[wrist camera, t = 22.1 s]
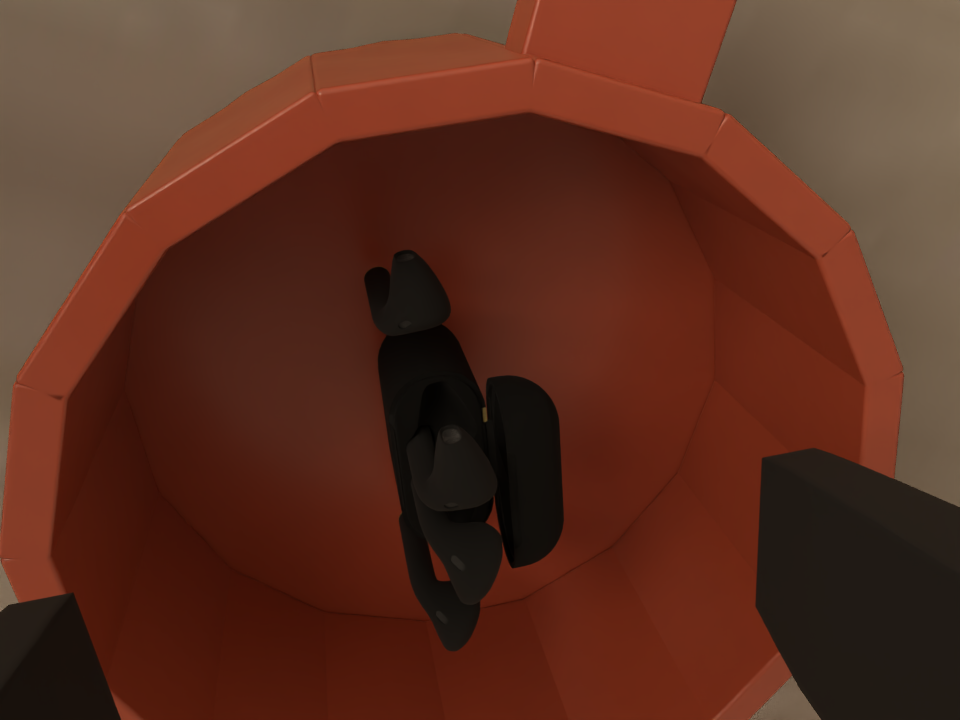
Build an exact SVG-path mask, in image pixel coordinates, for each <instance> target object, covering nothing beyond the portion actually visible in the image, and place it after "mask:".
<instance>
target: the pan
mask: <svg viewBox="0 0 960 720" xmlns="http://www.w3.org/2000/svg"><path fill="white" fill-rule="evenodd" d="M736 1H737V0H517V3H516V7H515V11H514V15H513V19H512V22H511V26H510V30H509V34H508V38H507V41H506V45H503V44H499V43H496V42H493V41H489V40H486V39H482V38H479V37H475V36H472V35H468V34H458V33H452V34H445V35H439V36H432V37H425V38H418V39H406V40H392V41H382V42H377V43H372V44H368V45H363V46H359V47H354V48H349V49H342V50H335V51H328V52H321V53H315V54H313V55H311V56H306V57H304V58H303V59H301V60H300V61H298V62H296V63H295V64H293V65H292V66H290V67H289V68H287V69H285V70H284V71H282V72H281V73H279V74H278V75H276V76H274V77H273V78H271V79H269V80H267V81H265V82H264V83H262V84H260V85H258V86H256V87H254V88H252V89H251V90H249V91H247V92H245V93H244V94H243V95H241V96H240V97H239V98H237V99H236V100H235V101H233V102H232V103H231V104H229V105H228V106H226V107H225V108H224V109H222V110H221V111H219V112H218V113H216V114H214V115H213V116H211V117H210V118H208V119H207V120H205V121H203V122H202V123H200V124H199V125H197V126H196V127H194V128H192V129H191V130H189V131H188V132H186V133H184V134H183V135H182V137H181V138H180V139H178V140H177V142H176V143H175V144H174V146H173V147H172V148H171V149H170V151H169V152H168V153H167V155H166V156H165V157H164V158H163V160H162V161H161V162H160V164H159V165H158V166H157V168H156V169H155V170H154V171H153V173H152V174H151V175H150V177H149V178H148V179H147V180H146V182H145V183H144V184H143V186H142V187H141V188H140V189H139V191H138V192H137V193H136V195H135V196H134V197H133V198H132V200H131V201H130V202H129V204H128V205H127V206H126V207H125V209H124V210H123V211H122V213H121V214H120V215H119V217H118V219H117V220H116V222H115V223H114V225H113V226H112V228H111V230H110V231H109V233H108V234H107V236H106V237H105V239H104V240H103V242H102V244H101V245H100V247H99V248H98V250H97V251H96V253H95V255H94V256H93V258H92V259H91V261H90V262H89V264H88V265H87V267H86V269H85V270H84V272H83V273H82V275H81V276H80V278H79V279H78V281H77V283H76V284H75V286H74V287H73V289H72V290H71V292H70V294H69V295H68V297H67V298H66V300H65V301H64V303H63V304H62V306H61V308H60V309H59V311H58V312H57V314H56V315H55V317H54V319H53V320H52V322H51V323H50V325H49V326H48V328H47V329H46V331H45V333H44V334H43V336H42V337H41V339H40V340H39V342H38V344H37V345H36V347H35V348H34V350H33V351H32V353H31V354H30V356H29V358H28V359H27V361H26V362H25V364H24V365H23V367H22V369H21V370H20V372H19V373H18V375H17V379H16V382H15V383H14V385H13V392H12V404H11V415H10V427H9V439H8V451H7V463H6V475H5V486H4V498H3V510H2V522H1V534H0V558H1V563H2V565H3V568H4V570H5V572H6V574H7V577H8V579H9V581H10V583H11V586H12V588H13V590H14V592H15V595H16V597H17V599H18V602H19V603H21V602H26V601H31V600H37V599H42V598H47V597H52V596H57V595H62V594H67V593H72V592H73V593H74V595H75V598H76V601H77V603H78V606H79V609H80V611H81V614H82V617H83V619H84V622H85V625H86V627H87V630H88V633H89V635H90V638H91V641H92V643H93V646H94V649H95V651H96V654H97V657H98V659H99V662H100V665H101V667H102V670H103V673H104V675H105V678H106V681H107V683H108V686H109V689H110V691H111V694H112V697H113V699H114V702H115V705H116V707H117V710H118V713H119V715H120V718H121V720H749V719H750V718H751V717H752V716H753V715H754V714H755V713H756V712H757V711H758V710H759V709H760V708H761V707H762V706H763V705H764V704H765V703H766V702H767V701H768V700H769V699H770V698H771V697H772V696H773V695H774V694H775V693H776V692H777V691H778V690H779V689H780V688H781V686H782V685H783V684H784V683H785V682H786V681H787V680H788V679H789V678H790V677H791V676H792V674H791V672H790V670H789V669H788V667H787V665H786V663H785V661H784V660H783V658H782V656H781V654H780V653H779V651H778V649H777V647H776V645H775V643H774V641H773V639H772V637H771V635H770V633H769V632H768V630H767V628H766V626H765V624H764V622H763V620H762V618H761V616H760V614H759V612H758V610H757V608H756V607H755V601H756V578H757V555H758V532H759V509H760V487H761V464H762V458H763V457H768V456H773V455H778V454H784V453H789V452H794V451H799V450H804V449H809V448H817V449H820V450H823V451H826V452H828V453H831V454H834V455H837V456H839V457H842V458H845V459H847V460H850V461H852V462H855V463H857V464H860V465H862V466H864V467H867V468H869V469H871V470H874V471H876V472H879V473H881V474H883V475H886V476H888V477H890V478H893V479H894V476H895V465H896V455H897V445H898V434H899V424H900V413H901V403H902V393H903V382H904V374H903V372H902V371H903V366H902V363H901V361H900V358H899V355H898V352H897V350H896V347H895V344H894V341H893V338H892V336H891V333H890V330H889V327H888V325H887V322H886V319H885V316H884V313H883V311H882V308H881V305H880V302H879V300H878V297H877V294H876V291H875V288H874V286H873V283H872V280H871V277H870V275H869V272H868V269H867V266H866V263H865V261H864V258H863V255H862V252H861V249H860V247H859V244H858V241H857V238H856V236H855V233H854V231H853V230H851V227H850V225H849V223H847V222H846V221H845V220H844V219H843V218H842V217H841V216H840V215H839V214H838V213H837V212H836V211H834V210H833V209H832V208H831V207H830V206H829V205H828V204H827V203H826V202H825V201H824V200H823V199H821V198H820V197H819V196H818V195H817V194H816V193H815V192H814V191H813V190H812V189H811V188H810V187H808V186H807V185H806V184H805V183H804V182H803V181H802V180H801V179H800V178H799V177H798V176H797V175H795V174H794V173H793V172H792V171H791V170H790V169H789V168H788V167H787V166H786V165H785V164H783V163H782V162H781V161H780V160H779V159H778V158H777V157H776V156H775V155H774V154H773V153H772V152H770V151H769V150H768V149H767V148H766V147H765V146H764V145H763V144H762V143H761V142H760V141H759V140H757V139H756V138H755V137H754V136H753V135H752V134H751V133H750V132H749V131H748V130H747V129H746V128H744V127H743V126H742V125H741V124H740V123H739V122H738V121H737V120H736V119H735V118H734V117H733V116H731V115H730V114H727V113H724V112H723V111H722V110H721V109H718V108H715V107H712V106H708V105H705V104H702V103H701V102H702V99H703V96H704V93H705V90H706V88H707V85H708V82H709V79H710V76H711V73H712V70H713V67H714V64H715V62H716V59H717V56H718V53H719V50H720V47H721V44H722V41H723V39H724V36H725V33H726V30H727V27H728V24H729V21H730V18H731V16H732V13H733V10H734V7H735V4H736ZM402 250H412V251H414V252H416V253H417V254H418V255H419V256H420V257H421V258H422V259H423V260H424V261H425V262H426V263H427V264H428V265H429V267H430V268H431V269H432V271H433V272H434V273H435V275H436V276H437V278H438V279H439V281H440V283H441V284H442V286H443V288H444V290H445V292H446V294H447V296H448V298H449V301H450V305H451V313H450V316H449V318H448V319H447V320H446V321H445V322H444V323H442V325H444V326H445V327H447V328H448V329H449V330H450V331H451V332H452V333H453V334H454V335H455V337H456V338H457V340H458V341H459V343H460V346H461V348H462V350H463V352H464V355H465V357H466V359H467V361H468V364H469V366H470V368H471V370H472V373H473V375H474V377H475V379H476V382H477V384H478V386H479V388H480V391H481V393H482V395H483V398H484V400H485V405H486V382H487V379H488V378H490V377H496V376H505V375H512V376H519V377H523V378H526V379H528V380H530V381H532V382H534V383H536V384H537V385H539V386H540V387H541V388H542V389H543V390H545V391H546V393H547V394H548V395H549V396H550V398H551V399H552V401H553V403H554V405H555V407H556V409H557V413H558V416H559V425H560V445H561V466H562V487H563V508H564V524H563V530H562V533H561V536H560V538H559V540H558V542H557V544H556V546H555V547H554V548H553V550H552V551H551V552H550V553H549V554H548V555H547V556H546V557H544V558H543V559H541V560H540V561H538V562H536V563H533V564H531V565H527V566H523V567H518V568H511V566H510V564H509V562H508V560H507V557H506V554H505V550H504V547H503V556H502V561H501V565H500V569H499V572H498V574H497V577H496V579H495V581H494V583H493V585H492V587H491V589H490V591H489V592H488V593H487V595H486V596H485V597H484V598H483V599H482V600H480V614H479V618H478V622H477V624H476V627H475V629H474V632H473V634H472V636H471V638H470V639H469V641H468V642H467V643H466V644H465V645H464V646H463V647H462V648H461V649H459V650H457V651H448V650H447V649H445V647H444V646H443V644H442V642H441V640H440V638H439V636H438V634H437V632H436V630H435V628H434V625H433V623H432V621H431V619H430V617H429V616H428V614H427V613H426V611H425V610H424V609H423V607H422V606H421V604H420V603H419V601H418V599H417V598H416V596H415V594H414V591H413V589H412V586H411V583H410V579H409V575H408V569H407V564H406V558H405V553H404V548H403V542H402V537H401V531H400V526H399V515H400V514H401V513H402V511H401V505H400V500H399V495H398V490H397V485H396V480H395V475H394V469H393V464H392V459H391V454H390V449H389V442H388V435H387V428H386V421H385V414H384V407H383V400H382V393H381V386H380V379H379V372H378V354H379V349H380V347H381V344H382V342H383V340H384V339H385V337H386V334H384V333H382V332H381V331H380V330H379V329H378V328H377V327H376V325H375V324H374V322H373V319H372V315H371V310H370V306H369V301H368V297H367V292H366V287H365V283H364V276H365V274H366V272H367V271H368V270H370V269H371V268H373V267H377V266H381V267H384V268H386V269H387V270H388V271H389V273H390V276H391V267H392V260H393V256H394V254H395V253H397V252H399V251H402ZM486 412H487V406H486ZM487 419H488V417H487ZM485 523H487V524H489V525H491V526H493V527H494V528H495V529H496V530H497V531H498V532H499V533H500V529H499V524H498V519H497V513H496V506H495V497H494V504H493V508H492V512H491V514H490V516H489V518H488V520H487V521H486V522H485ZM500 535H501V534H500ZM428 546H429V550H430V554H431V559H432V563H433V568H434V572H435V576H436V578H437V580H439V581H450V578H449V576H448V573H447V571H446V569H445V567H444V565H443V563H442V562H441V560H440V559H439V557H438V556H437V555H436V553H435V552H434V550H433V549H432V547H431V546H430V544H429V543H428ZM502 546H503V543H502Z"/></svg>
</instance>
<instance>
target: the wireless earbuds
mask: <svg viewBox="0 0 960 720" xmlns="http://www.w3.org/2000/svg"><path fill="white" fill-rule="evenodd" d="M364 283H365V287H366V292H367V297H368V301H369V306H370V310H371V315H372V319H373V322H374V324H375V325H376V327H377V328H378V329H379V330H380V331H381V332H382V333H384V334H386V337H385V339H384V340H383V342H382V344H381V347H380V349H379V354H378V372H379V379H380V386H381V393H382V400H383V407H384V414H385V421H386V428H387V435H388V442H389V449H390V454H391V459H392V464H393V469H394V475H395V480H396V485H397V490H398V495H399V500H400V505H401V511H402V513H401V514H400V515H399V526H400V531H401V537H402V542H403V548H404V553H405V558H406V564H407V569H408V575H409V579H410V583H411V586H412V589H413V591H414V594H415V596H416V598H417V599H418V601H419V603H420V604H421V606H422V607H423V609H424V610H425V611H426V613H427V614H428V616H429V617H430V619H431V621H432V623H433V625H434V628H435V630H436V632H437V634H438V636H439V638H440V640H441V642H442V644H443V646H444V647H445V649H447V650H448V651H457V650H459V649H461V648H462V647H463V646H464V645H465V644H466V643H467V642H468V641H469V639H470V638H471V636H472V634H473V632H474V629H475V627H476V624H477V622H478V618H479V614H480V600H482V599H483V598H484V597H485V596H486V595H487V593H488V592H489V591H490V589H491V587H492V585H493V583H494V581H495V579H496V577H497V574H498V572H499V569H500V565H501V561H502V556H503V547H504V550H505V554H506V557H507V560H508V562H509V564H510V566H511V568H518V567H523V566H527V565H531V564H533V563H536V562H538V561H540V560H541V559H543V558H544V557H546V556H547V555H548V554H549V553H550V552H551V551H552V550H553V548H554V547H555V546H556V544H557V542H558V540H559V538H560V536H561V533H562V530H563V524H564V508H563V487H562V466H561V445H560V425H559V416H558V413H557V409H556V407H555V405H554V403H553V401H552V399H551V398H550V396H549V395H548V394H547V393H546V391H545V390H543V389H542V388H541V387H540V386H539V385H537V384H536V383H534V382H532V381H530V380H528V379H526V378H523V377H519V376H512V375H505V376H496V377H490V378H488V379H487V382H486V405H485V400H484V398H483V395H482V393H481V391H480V388H479V386H478V384H477V382H476V379H475V377H474V375H473V373H472V370H471V368H470V366H469V364H468V361H467V359H466V357H465V355H464V352H463V350H462V348H461V346H460V343H459V341H458V340H457V338H456V337H455V335H454V334H453V333H452V332H451V331H450V330H449V329H448V328H447V327H445V326H444V325H442V323H444V322H445V321H446V320H447V319H448V318H449V316H450V313H451V305H450V301H449V298H448V296H447V294H446V292H445V290H444V288H443V286H442V284H441V283H440V281H439V279H438V278H437V276H436V275H435V273H434V272H433V271H432V269H431V268H430V267H429V265H428V264H427V263H426V262H425V261H424V260H423V259H422V258H421V257H420V256H419V255H418V254H417V253H416V252H414V251H412V250H402V251H399V252H397V253H395V254H394V256H393V260H392V267H391V276H390V273H389V271H388V270H387V269H386V268H384V267H381V266H377V267H373V268H371V269H370V270H368V271H367V272H366V274H365V276H364ZM486 406H487V412H486ZM487 417H488V419H487ZM494 497H495V506H496V513H497V519H498V524H499V529H500V533H499V532H498V531H497V530H496V529H495V528H494V527H493V526H491V525H489V524H487V523H485V522H486V521H487V520H488V518H489V516H490V514H491V512H492V508H493V504H494ZM500 534H501V535H500ZM428 543H429V544H430V546H431V547H432V549H433V550H434V552H435V553H436V555H437V556H438V557H439V559H440V560H441V562H442V563H443V565H444V567H445V569H446V571H447V573H448V576H449V578H450V581H439V580H437V578H436V576H435V572H434V568H433V563H432V559H431V554H430V550H429V546H428ZM502 543H503V546H502Z"/></svg>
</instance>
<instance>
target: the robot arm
mask: <svg viewBox="0 0 960 720" xmlns="http://www.w3.org/2000/svg"><path fill="white" fill-rule="evenodd" d="M755 607H756V608H757V610H758V612H759V614H760V616H761V618H762V620H763V622H764V624H765V626H766V628H767V630H768V632H769V633H770V635H771V637H772V639H773V641H774V643H775V645H776V647H777V649H778V651H779V653H780V654H781V656H782V658H783V660H784V661H785V663H786V665H787V667H788V669H789V670H790V672H791V674H792V676H793V677H794V679H795V681H796V683H797V685H798V686H799V688H800V690H801V691H802V692H803V694H804V695H805V697H806V698H807V700H808V701H809V703H810V704H811V705H812V707H813V708H814V710H815V711H816V713H817V714H818V715H819V717H820V718H821V720H960V507H957V506H955V505H953V504H950V503H948V502H946V501H943V500H941V499H939V498H937V497H934V496H932V495H930V494H927V493H925V492H923V491H920V490H918V489H916V488H914V487H911V486H909V485H907V484H904V483H902V482H900V481H897V480H895V479H893V478H890V477H888V476H886V475H883V474H881V473H879V472H876V471H874V470H871V469H869V468H867V467H864V466H862V465H860V464H857V463H855V462H852V461H850V460H847V459H845V458H842V457H839V456H837V455H834V454H831V453H828V452H826V451H823V450H820V449H817V448H809V449H804V450H799V451H794V452H789V453H784V454H778V455H773V456H768V457H763V458H762V464H761V487H760V509H759V532H758V555H757V578H756V601H755ZM0 720H121V718H120V715H119V713H118V710H117V707H116V705H115V702H114V699H113V697H112V694H111V691H110V689H109V686H108V683H107V681H106V678H105V675H104V673H103V670H102V667H101V665H100V662H99V659H98V657H97V654H96V651H95V649H94V646H93V643H92V641H91V638H90V635H89V633H88V630H87V627H86V625H85V622H84V619H83V617H82V614H81V611H80V609H79V606H78V603H77V601H76V598H75V595H74V593H73V592H72V593H67V594H62V595H57V596H52V597H47V598H42V599H37V600H31V601H26V602H21V603H16V604H11V605H8V606H7V607H6V608H5V609H3V610H2V611H1V612H0Z"/></svg>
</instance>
